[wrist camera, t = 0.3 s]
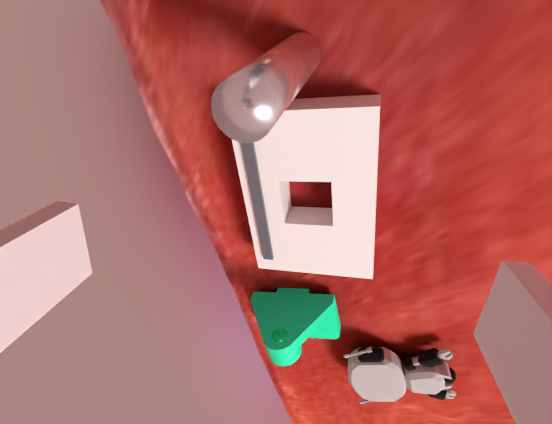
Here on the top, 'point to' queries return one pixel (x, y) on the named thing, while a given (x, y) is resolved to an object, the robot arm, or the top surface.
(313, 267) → the hole plate
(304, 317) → the camera mount
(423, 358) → the robot toy
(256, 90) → the long pin
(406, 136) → the top surface
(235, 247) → the top surface
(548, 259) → the top surface
